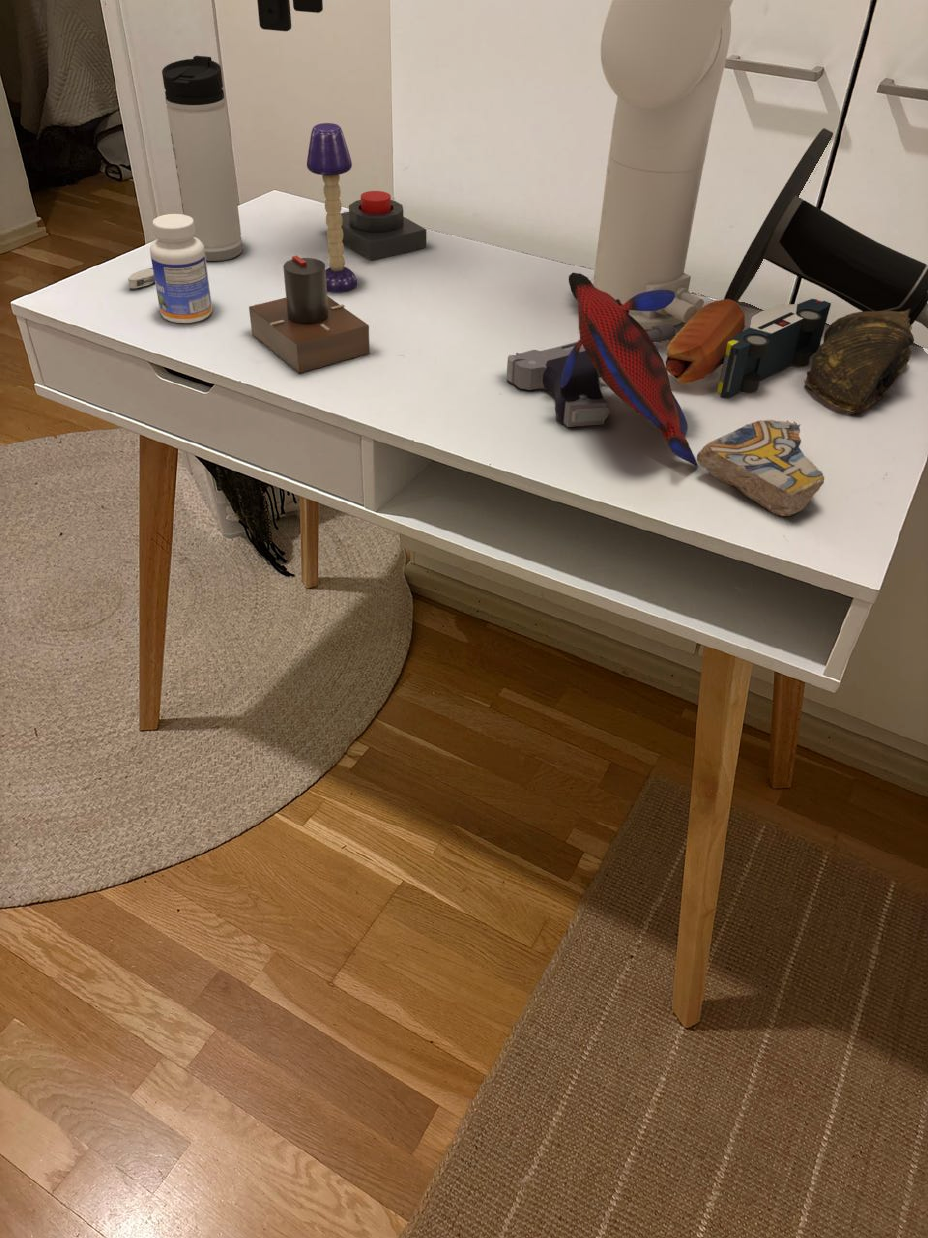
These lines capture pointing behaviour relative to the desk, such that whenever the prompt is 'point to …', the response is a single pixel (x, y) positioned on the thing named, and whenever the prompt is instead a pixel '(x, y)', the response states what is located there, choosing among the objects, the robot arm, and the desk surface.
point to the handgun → (582, 391)
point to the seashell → (861, 358)
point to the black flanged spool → (832, 252)
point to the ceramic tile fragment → (765, 465)
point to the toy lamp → (332, 197)
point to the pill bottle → (180, 270)
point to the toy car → (772, 345)
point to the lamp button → (375, 202)
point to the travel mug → (203, 154)
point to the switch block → (381, 232)
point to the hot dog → (704, 341)
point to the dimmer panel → (310, 335)
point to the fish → (628, 357)
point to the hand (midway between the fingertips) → (292, 19)
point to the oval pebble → (141, 278)
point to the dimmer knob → (306, 290)
